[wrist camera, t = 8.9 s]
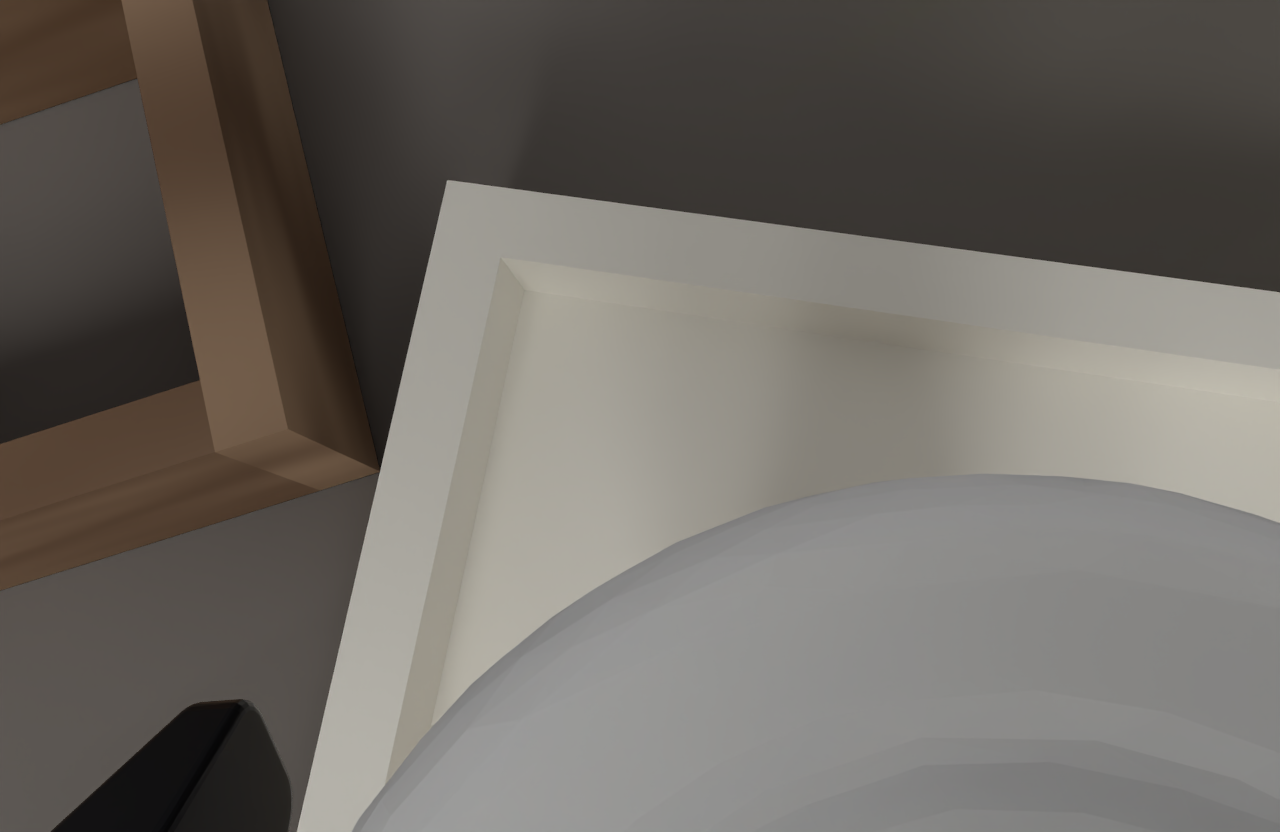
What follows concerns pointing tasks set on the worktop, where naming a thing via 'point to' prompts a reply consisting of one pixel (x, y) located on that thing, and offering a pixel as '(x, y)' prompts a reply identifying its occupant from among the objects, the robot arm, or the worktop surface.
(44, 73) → the walnut holder
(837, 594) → the sprinkles bottle
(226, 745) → the robot arm
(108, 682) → the worktop surface
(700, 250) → the cream tray
